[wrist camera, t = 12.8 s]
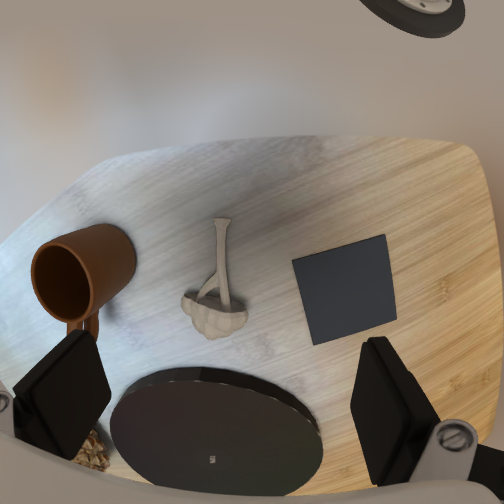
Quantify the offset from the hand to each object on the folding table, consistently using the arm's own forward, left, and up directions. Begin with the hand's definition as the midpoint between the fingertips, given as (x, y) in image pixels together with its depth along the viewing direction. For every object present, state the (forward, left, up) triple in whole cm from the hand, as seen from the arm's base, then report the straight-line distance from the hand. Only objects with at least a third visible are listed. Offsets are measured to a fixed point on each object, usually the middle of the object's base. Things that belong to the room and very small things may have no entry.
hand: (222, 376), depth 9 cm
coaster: (+5, +10, -21) cm, 24 cm away
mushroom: (+3, -3, -21) cm, 22 cm away
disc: (+29, -6, -21) cm, 36 cm away
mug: (+3, -16, -21) cm, 27 cm away
